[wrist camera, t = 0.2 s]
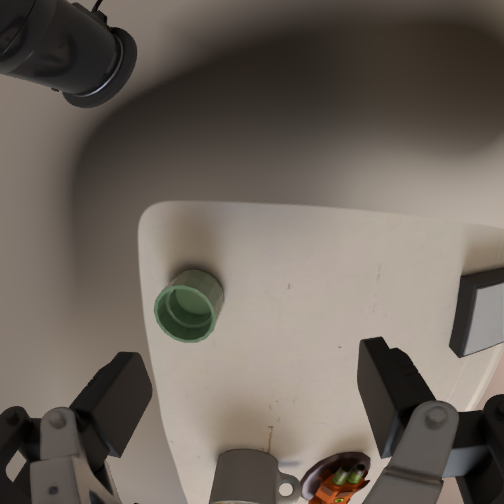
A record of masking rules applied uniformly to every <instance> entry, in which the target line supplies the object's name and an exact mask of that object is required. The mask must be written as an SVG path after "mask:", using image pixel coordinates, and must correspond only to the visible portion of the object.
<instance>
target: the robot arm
mask: <svg viewBox="0 0 504 504" xmlns="http://www.w3.org/2000/svg"><path fill="white" fill-rule="evenodd" d="M102 1H103V0H98V1H97V2H96V3H95V5H94V7H93V9H92V11H91V12H90V11H88V10H87V9H86V8H84V7H83V6H82V5H80V4H79V3H72V4H71V3H69V2H68V1H66V0H0V74H3V75H7V76H11V77H15V78H19V79H23V80H27V81H30V82H34V83H37V84H41V85H44V86H47V87H51V89H52V90H54V91H58V92H59V90H60V91H64V92H67V93H70V94H72V95H74V96H77V97H80V98H87V97H91V96H94V95H96V94H98V93H99V92H101V91H102V90H104V89H105V88H106V87H107V86H108V85H109V84H110V83H111V82H112V81H113V80H114V78H115V77H116V76H117V74H118V72H119V71H120V69H121V66H122V64H123V60H124V55H125V49H124V45H123V42H122V41H121V40H120V38H118V37H117V36H116V35H115V30H113V29H112V28H111V27H109V26H108V25H107V16H106V15H105V14H103V13H102V12H101V11H100V10H98V7H99V6H100V4H101V2H102ZM97 10H98V11H97ZM357 383H358V389H359V392H360V395H361V398H362V401H363V404H364V407H365V410H366V413H367V416H368V419H369V422H370V425H371V429H372V432H373V435H374V438H375V441H376V444H377V448H378V451H379V454H380V458H381V459H383V458H387V457H391V456H392V458H391V460H390V462H389V463H388V465H387V467H385V468H384V469H383V471H382V473H381V474H380V476H379V477H378V479H377V481H376V483H375V484H374V486H373V487H372V489H371V491H370V492H369V494H368V495H367V497H366V498H365V500H364V501H363V503H362V504H436V502H437V500H438V497H439V495H440V492H441V490H442V486H443V482H444V481H443V480H442V478H445V477H455V478H456V481H457V484H458V487H459V490H460V492H461V495H462V498H463V502H464V504H504V394H500V395H496V396H493V397H491V398H490V399H489V400H488V401H487V402H486V404H485V406H484V408H483V410H478V411H468V412H457V410H456V409H455V408H454V407H453V406H452V405H451V404H449V403H447V402H444V401H438V400H436V398H435V397H434V395H433V394H432V392H431V390H430V389H429V387H428V386H427V384H426V382H425V381H424V379H423V378H422V376H421V375H420V373H418V370H417V368H416V367H415V365H413V362H412V361H411V359H410V358H409V356H408V355H407V354H406V353H404V352H403V351H401V350H400V349H398V348H392V349H389V347H388V345H387V344H386V342H385V340H384V339H383V337H381V336H380V337H375V338H369V339H363V340H361V341H360V344H359V358H358V370H357ZM151 397H152V384H151V381H150V379H149V376H148V374H147V371H146V368H145V365H144V362H143V360H142V357H141V355H140V354H139V353H137V352H119V353H118V354H117V355H116V356H115V357H114V359H113V360H112V361H111V362H110V363H109V364H107V365H106V366H104V367H103V368H101V369H100V370H99V371H98V372H97V373H96V374H95V376H94V377H93V380H90V382H89V383H88V386H86V387H85V388H84V389H83V390H82V392H81V393H80V394H79V395H78V396H77V398H76V399H75V400H74V401H73V403H72V404H71V405H70V406H69V408H67V407H57V408H54V409H52V410H50V411H48V412H47V413H46V414H45V415H44V416H43V418H30V417H29V415H28V414H27V412H26V411H25V410H24V408H23V407H20V406H14V407H10V408H8V409H6V410H5V411H4V412H3V413H2V414H1V415H0V504H122V502H121V500H120V498H119V495H118V492H117V489H116V486H115V483H114V480H113V478H112V474H111V471H110V468H109V465H108V463H107V461H106V460H105V459H106V458H107V456H108V455H110V456H114V457H118V458H121V456H122V453H123V452H124V450H125V448H126V445H127V444H128V442H129V440H130V438H131V436H132V434H133V432H134V430H135V428H136V426H137V424H138V423H139V421H140V419H141V417H142V415H143V413H144V411H145V409H146V407H147V405H148V403H149V402H150V400H151ZM17 450H18V451H19V452H20V453H21V454H22V455H23V457H24V458H25V459H26V460H27V461H26V463H25V465H24V467H23V468H22V469H21V471H20V472H19V474H18V475H17V477H16V479H15V480H14V482H12V481H11V480H10V479H9V478H8V477H7V475H6V466H7V464H8V463H9V462H10V460H11V458H12V457H13V456H14V454H15V453H16V451H17ZM134 504H138V503H134Z"/></svg>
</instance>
